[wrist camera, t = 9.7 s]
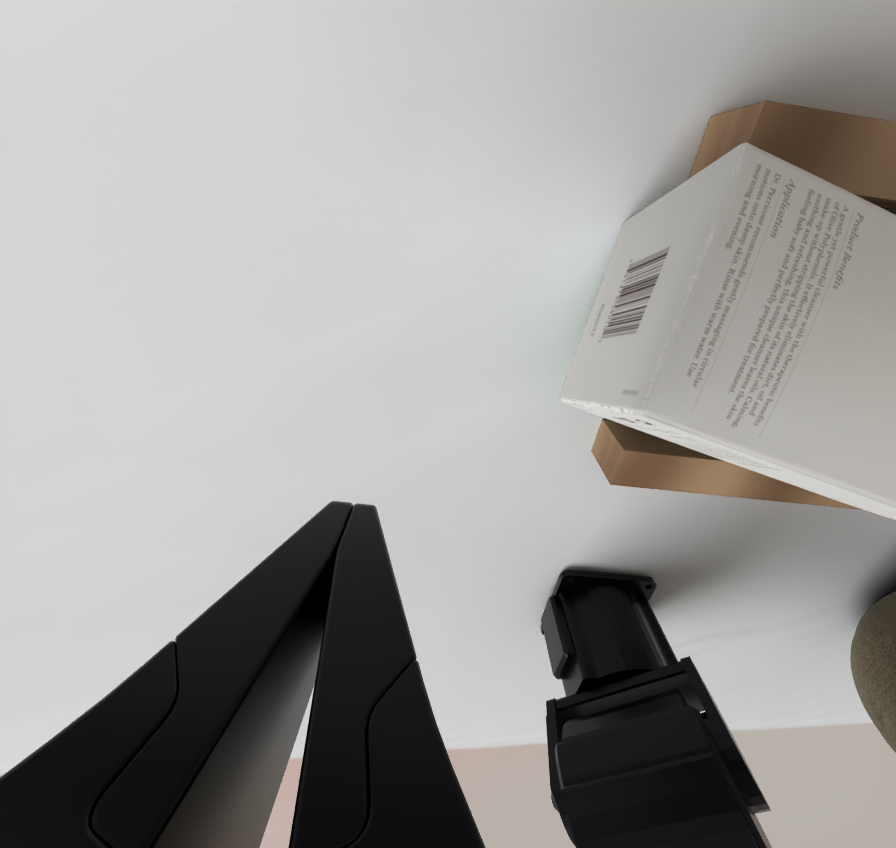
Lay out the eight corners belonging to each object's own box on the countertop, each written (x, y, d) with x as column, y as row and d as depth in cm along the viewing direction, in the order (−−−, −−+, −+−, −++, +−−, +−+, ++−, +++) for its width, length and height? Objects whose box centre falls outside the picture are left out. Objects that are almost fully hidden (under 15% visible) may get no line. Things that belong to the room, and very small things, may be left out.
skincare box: (551, 400, 18) (831, 509, 20) (641, 417, 11) (1041, 575, 13) (625, 212, 17) (905, 348, 19) (767, 112, 10) (1162, 336, 13)
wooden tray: (1169, 191, 16) (1306, 190, 14) (914, 484, 24) (972, 520, 21) (710, 116, 15) (765, 100, 13) (591, 450, 22) (610, 484, 20)
